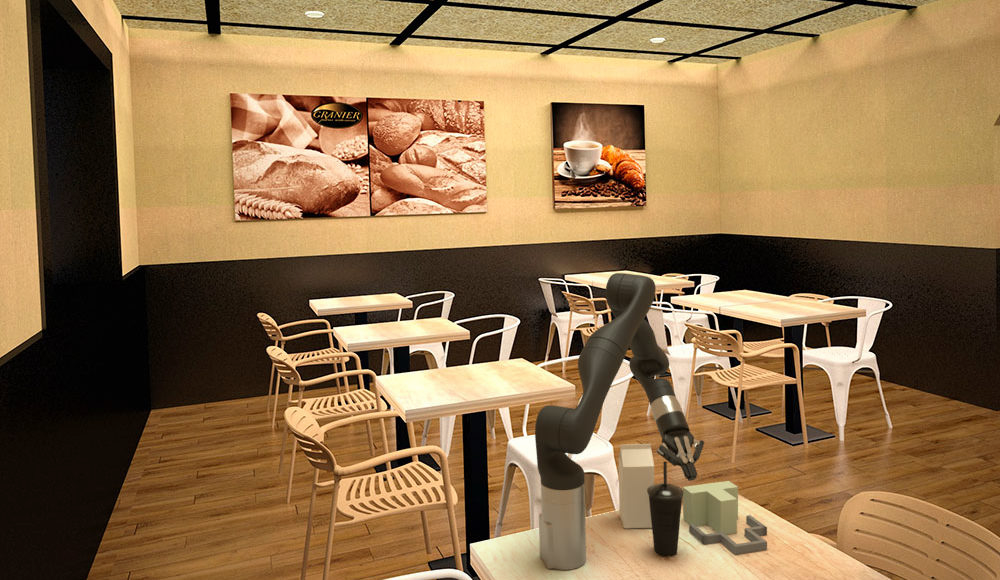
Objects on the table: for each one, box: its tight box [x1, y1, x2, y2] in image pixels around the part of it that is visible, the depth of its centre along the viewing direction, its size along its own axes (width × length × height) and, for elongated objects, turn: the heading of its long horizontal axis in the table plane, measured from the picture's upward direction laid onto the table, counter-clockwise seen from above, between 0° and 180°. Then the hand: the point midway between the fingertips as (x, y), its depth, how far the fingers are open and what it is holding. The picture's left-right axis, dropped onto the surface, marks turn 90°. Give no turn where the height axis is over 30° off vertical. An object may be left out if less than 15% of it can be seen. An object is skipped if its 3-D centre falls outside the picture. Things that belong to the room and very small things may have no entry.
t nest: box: [688, 514, 768, 556], centre depth 158 cm, size 16×13×2 cm
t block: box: [682, 480, 739, 536], centre depth 165 cm, size 12×10×8 cm
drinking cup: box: [647, 461, 684, 558], centre depth 153 cm, size 8×8×20 cm
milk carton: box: [618, 443, 655, 529], centre depth 167 cm, size 7×7×19 cm
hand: (692, 479), depth 176 cm, fingers closed
